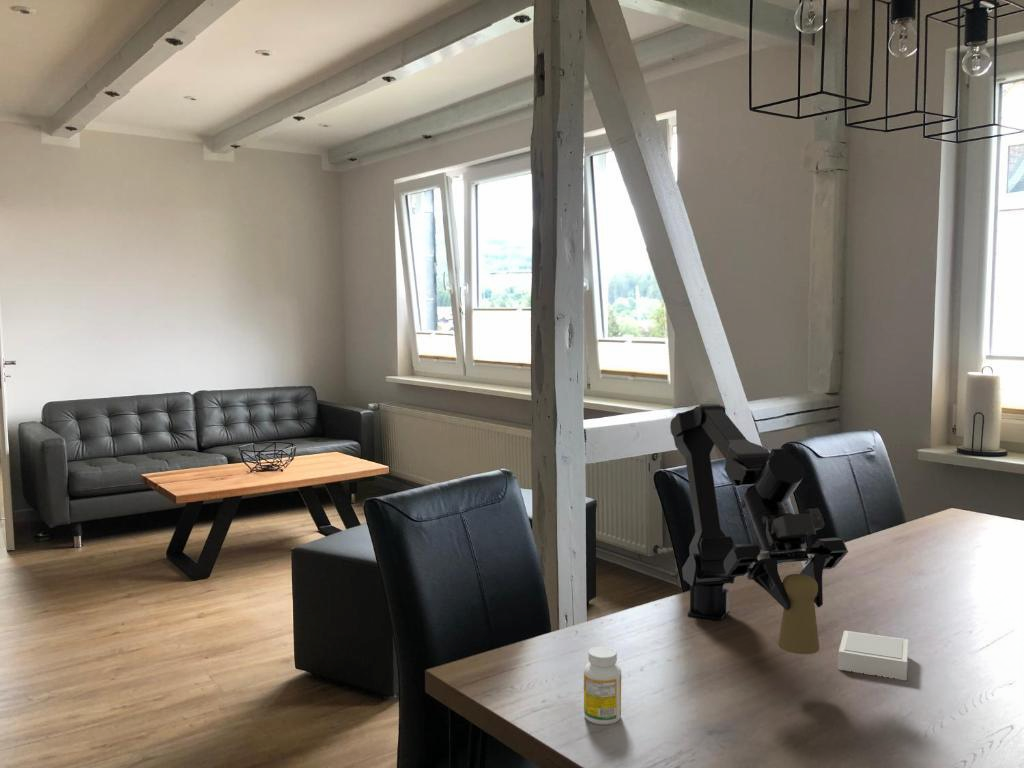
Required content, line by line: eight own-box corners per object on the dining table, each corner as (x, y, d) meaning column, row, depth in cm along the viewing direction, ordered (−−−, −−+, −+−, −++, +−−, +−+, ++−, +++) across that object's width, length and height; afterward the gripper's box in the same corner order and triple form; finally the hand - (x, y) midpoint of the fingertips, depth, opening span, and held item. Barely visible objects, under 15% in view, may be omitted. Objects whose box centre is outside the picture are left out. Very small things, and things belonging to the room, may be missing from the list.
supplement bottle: (607, 729, 118) (607, 662, 118) (576, 718, 122) (576, 653, 121) (628, 715, 122) (628, 650, 122) (597, 704, 126) (597, 641, 125)
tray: (838, 669, 137) (838, 650, 137) (843, 647, 146) (844, 629, 146) (906, 680, 133) (907, 661, 132) (907, 657, 142) (908, 638, 141)
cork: (822, 655, 126) (824, 583, 125) (780, 652, 128) (781, 581, 127) (816, 639, 132) (818, 571, 131) (775, 637, 134) (777, 569, 133)
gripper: (732, 493, 130) (766, 587, 120) (843, 487, 134) (884, 578, 124) (710, 530, 138) (740, 621, 129) (814, 524, 142) (851, 611, 132)
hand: (804, 607), depth 128 cm, fingers closed on cork, 5 cm apart
